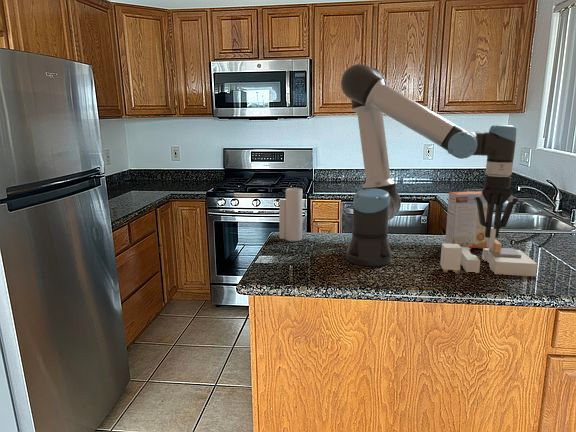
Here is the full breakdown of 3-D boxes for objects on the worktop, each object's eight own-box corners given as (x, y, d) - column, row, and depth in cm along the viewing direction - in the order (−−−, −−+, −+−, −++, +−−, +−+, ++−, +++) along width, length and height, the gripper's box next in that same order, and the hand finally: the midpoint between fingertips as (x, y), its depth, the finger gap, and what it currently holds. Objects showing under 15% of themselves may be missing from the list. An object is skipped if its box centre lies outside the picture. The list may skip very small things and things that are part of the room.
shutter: (495, 256, 138) (496, 244, 137) (488, 249, 145) (490, 238, 145) (521, 257, 137) (522, 245, 136) (513, 250, 144) (514, 239, 143)
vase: (305, 239, 172) (306, 189, 168) (291, 242, 168) (291, 191, 163) (287, 233, 181) (287, 186, 176) (273, 236, 176) (273, 187, 172)
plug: (442, 273, 134) (444, 247, 133) (439, 267, 139) (441, 243, 137) (459, 274, 134) (462, 248, 132) (456, 268, 138) (458, 244, 137)
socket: (466, 272, 135) (467, 260, 134) (456, 257, 150) (457, 246, 149) (535, 276, 132) (537, 263, 131) (518, 261, 146) (519, 249, 145)
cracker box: (477, 244, 167) (482, 190, 162) (486, 248, 161) (492, 193, 156) (443, 245, 164) (448, 191, 160) (452, 250, 158) (457, 193, 154)
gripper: (479, 176, 134) (472, 249, 139) (524, 177, 132) (515, 251, 137) (473, 173, 141) (466, 243, 146) (516, 174, 139) (507, 245, 144)
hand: (490, 247), depth 142 cm, fingers closed
